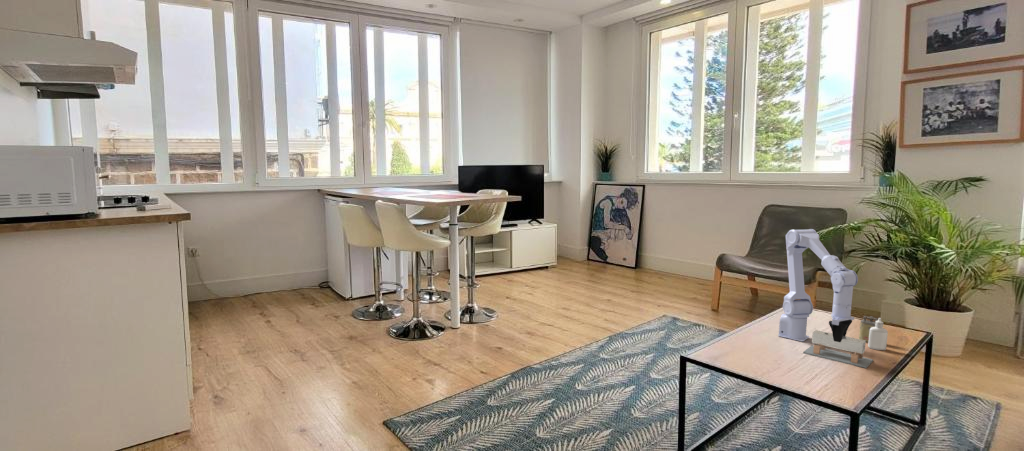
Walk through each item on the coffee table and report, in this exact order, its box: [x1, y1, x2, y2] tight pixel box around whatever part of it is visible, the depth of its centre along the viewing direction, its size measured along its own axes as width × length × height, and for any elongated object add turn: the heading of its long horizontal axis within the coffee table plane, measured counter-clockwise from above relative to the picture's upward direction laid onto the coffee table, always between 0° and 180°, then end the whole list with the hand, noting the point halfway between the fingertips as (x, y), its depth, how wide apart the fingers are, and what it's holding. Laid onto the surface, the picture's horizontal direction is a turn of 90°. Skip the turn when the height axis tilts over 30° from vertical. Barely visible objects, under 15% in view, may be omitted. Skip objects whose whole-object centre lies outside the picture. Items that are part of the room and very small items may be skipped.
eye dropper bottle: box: [867, 317, 889, 351], centre depth 202 cm, size 4×6×12 cm
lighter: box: [858, 315, 879, 343], centre depth 210 cm, size 7×4×10 cm, turn 48°
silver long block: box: [811, 329, 867, 355], centre depth 193 cm, size 16×4×4 cm, turn 45°
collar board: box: [802, 344, 874, 369], centre depth 194 cm, size 20×10×4 cm, turn 45°
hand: (839, 340), depth 193 cm, fingers closed on silver long block, 4 cm apart
